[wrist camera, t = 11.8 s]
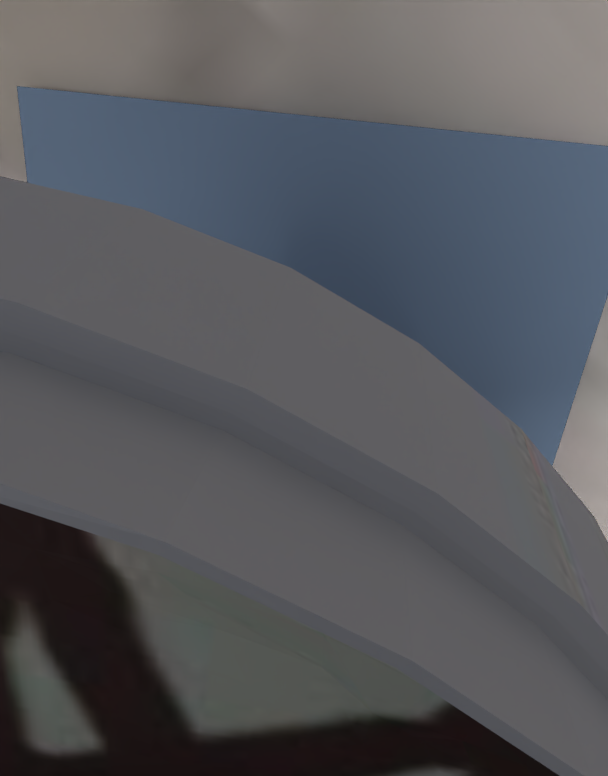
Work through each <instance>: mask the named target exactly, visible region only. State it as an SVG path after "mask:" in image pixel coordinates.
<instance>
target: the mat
mask: <svg viewBox="0 0 608 776" xmlns="http://www.w3.org/2000/svg"><path fill="white" fill-rule="evenodd" d="M17 91H18V100H19V109H20V118H21V127H22V136H23V146H24V155H25V164H26V173H27V182H28V183H31V184H35V185H40V186H44V187H48V188H53V189H57V190H61V191H66V192H70V193H74V194H79V195H83V196H88V197H92V198H96V199H101V200H105V201H109V202H114V203H118V204H122V205H127V206H131V207H135V208H140V209H143V210H146V211H148V212H151V213H154V214H156V215H159V216H161V217H164V218H166V219H169V220H171V221H174V222H176V223H179V224H181V225H184V226H186V227H189V228H191V229H194V230H197V231H199V232H202V233H204V234H207V235H209V236H212V237H214V238H217V239H219V240H222V241H224V242H227V243H229V244H232V245H234V246H237V247H240V248H242V249H245V250H247V251H250V252H252V253H255V254H257V255H260V256H262V257H265V258H267V259H270V260H272V261H275V262H277V263H280V264H282V265H285V266H288V267H290V268H292V269H294V270H296V271H297V272H299V273H301V274H302V275H304V276H306V277H307V278H309V279H311V280H313V281H314V282H316V283H318V284H319V285H321V286H323V287H324V288H326V289H328V290H330V291H331V292H333V293H335V294H336V295H338V296H340V297H341V298H343V299H345V300H346V301H348V302H350V303H352V304H353V305H355V306H357V307H358V308H360V309H362V310H363V311H365V312H367V313H369V314H370V315H372V316H374V317H375V318H377V319H379V320H380V321H382V322H384V323H386V324H387V325H389V326H391V327H392V328H394V329H396V330H397V331H399V332H401V333H402V334H404V335H406V336H408V337H409V338H411V339H413V340H414V341H416V342H418V343H419V344H421V345H422V346H423V347H424V348H425V349H427V350H428V351H429V352H430V353H431V354H433V355H434V356H435V357H436V358H437V359H438V360H440V361H441V362H442V363H443V364H444V365H446V366H447V367H448V368H449V369H450V370H452V371H453V372H454V373H455V374H456V375H458V376H459V377H460V378H461V379H462V380H464V381H465V382H466V383H467V384H468V385H470V386H471V387H472V388H473V389H474V390H476V391H477V392H478V393H479V394H480V395H481V396H483V397H484V398H485V399H486V400H487V401H489V402H490V403H491V404H492V405H493V406H495V407H496V408H497V409H498V410H499V411H501V412H502V413H503V414H504V415H505V416H507V417H508V418H509V419H510V420H511V421H513V422H514V423H515V424H516V425H517V426H519V427H520V428H521V429H522V430H523V432H524V433H525V434H526V435H527V436H528V438H529V439H530V440H531V441H532V442H533V444H534V445H535V446H536V447H537V449H538V450H539V451H540V452H541V453H542V455H543V456H544V457H545V458H546V459H547V461H548V462H549V463H550V464H551V465H553V462H554V459H555V456H556V453H557V450H558V446H559V443H560V440H561V437H562V434H563V431H564V428H565V425H566V422H567V419H568V416H569V413H570V410H571V406H572V403H573V400H574V397H575V394H576V391H577V388H578V385H579V382H580V379H581V376H582V373H583V370H584V366H585V363H586V360H587V357H588V354H589V351H590V348H591V345H592V342H593V339H594V336H595V333H596V330H597V327H598V323H599V320H600V317H601V314H602V311H603V308H604V305H605V302H606V299H607V296H608V146H601V145H591V144H581V143H572V142H562V141H552V140H542V139H532V138H522V137H513V136H503V135H493V134H483V133H473V132H463V131H453V130H444V129H434V128H424V127H414V126H404V125H394V124H384V123H375V122H365V121H355V120H345V119H335V118H325V117H315V116H306V115H296V114H286V113H276V112H266V111H256V110H247V109H237V108H227V107H217V106H207V105H197V104H187V103H178V102H168V101H158V100H148V99H138V98H128V97H118V96H109V95H99V94H89V93H79V92H69V91H59V90H50V89H40V88H30V87H20V86H17Z"/></svg>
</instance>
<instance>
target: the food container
mask: <svg viewBox="0 0 608 776" xmlns="http://www.w3.org/2000/svg"><path fill="white" fill-rule="evenodd" d="M0 776H608V542H607V540H606V538H605V536H604V534H603V533H602V531H601V529H600V527H599V525H598V523H597V521H596V519H595V518H594V516H593V515H592V514H591V512H590V511H589V510H588V509H587V508H586V506H585V505H584V504H583V503H582V502H581V500H580V499H579V498H578V497H577V495H576V494H575V493H574V492H573V491H572V489H571V488H570V487H569V486H568V485H567V483H566V482H565V481H564V480H563V479H562V477H561V476H560V475H559V474H558V473H557V471H556V470H555V469H554V468H553V467H552V465H551V464H550V463H549V462H548V461H547V459H546V458H545V457H544V456H543V455H542V453H541V452H540V451H539V450H538V449H537V447H536V446H535V445H534V444H533V442H532V441H531V440H530V439H529V438H528V436H527V435H526V434H525V433H524V432H523V430H522V429H521V428H520V427H519V426H517V425H516V424H515V423H514V422H513V421H511V420H510V419H509V418H508V417H507V416H505V415H504V414H503V413H502V412H501V411H499V410H498V409H497V408H496V407H495V406H493V405H492V404H491V403H490V402H489V401H487V400H486V399H485V398H484V397H483V396H481V395H480V394H479V393H478V392H477V391H476V390H474V389H473V388H472V387H471V386H470V385H468V384H467V383H466V382H465V381H464V380H462V379H461V378H460V377H459V376H458V375H456V374H455V373H454V372H453V371H452V370H450V369H449V368H448V367H447V366H446V365H444V364H443V363H442V362H441V361H440V360H438V359H437V358H436V357H435V356H434V355H433V354H431V353H430V352H429V351H428V350H427V349H425V348H424V347H423V346H422V345H421V344H419V343H418V342H416V341H414V340H413V339H411V338H409V337H408V336H406V335H404V334H402V333H401V332H399V331H397V330H396V329H394V328H392V327H391V326H389V325H387V324H386V323H384V322H382V321H380V320H379V319H377V318H375V317H374V316H372V315H370V314H369V313H367V312H365V311H363V310H362V309H360V308H358V307H357V306H355V305H353V304H352V303H350V302H348V301H346V300H345V299H343V298H341V297H340V296H338V295H336V294H335V293H333V292H331V291H330V290H328V289H326V288H324V287H323V286H321V285H319V284H318V283H316V282H314V281H313V280H311V279H309V278H307V277H306V276H304V275H302V274H301V273H299V272H297V271H296V270H294V269H292V268H290V267H288V266H285V265H282V264H280V263H277V262H275V261H272V260H270V259H267V258H265V257H262V256H260V255H257V254H255V253H252V252H250V251H247V250H245V249H242V248H240V247H237V246H234V245H232V244H229V243H227V242H224V241H222V240H219V239H217V238H214V237H212V236H209V235H207V234H204V233H202V232H199V231H197V230H194V229H191V228H189V227H186V226H184V225H181V224H179V223H176V222H174V221H171V220H169V219H166V218H164V217H161V216H159V215H156V214H154V213H151V212H148V211H146V210H143V209H140V208H135V207H131V206H127V205H122V204H118V203H114V202H109V201H105V200H101V199H96V198H92V197H88V196H83V195H79V194H74V193H70V192H66V191H61V190H57V189H53V188H48V187H44V186H40V185H35V184H31V183H27V182H22V181H18V180H14V179H9V178H5V177H0Z"/></svg>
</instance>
